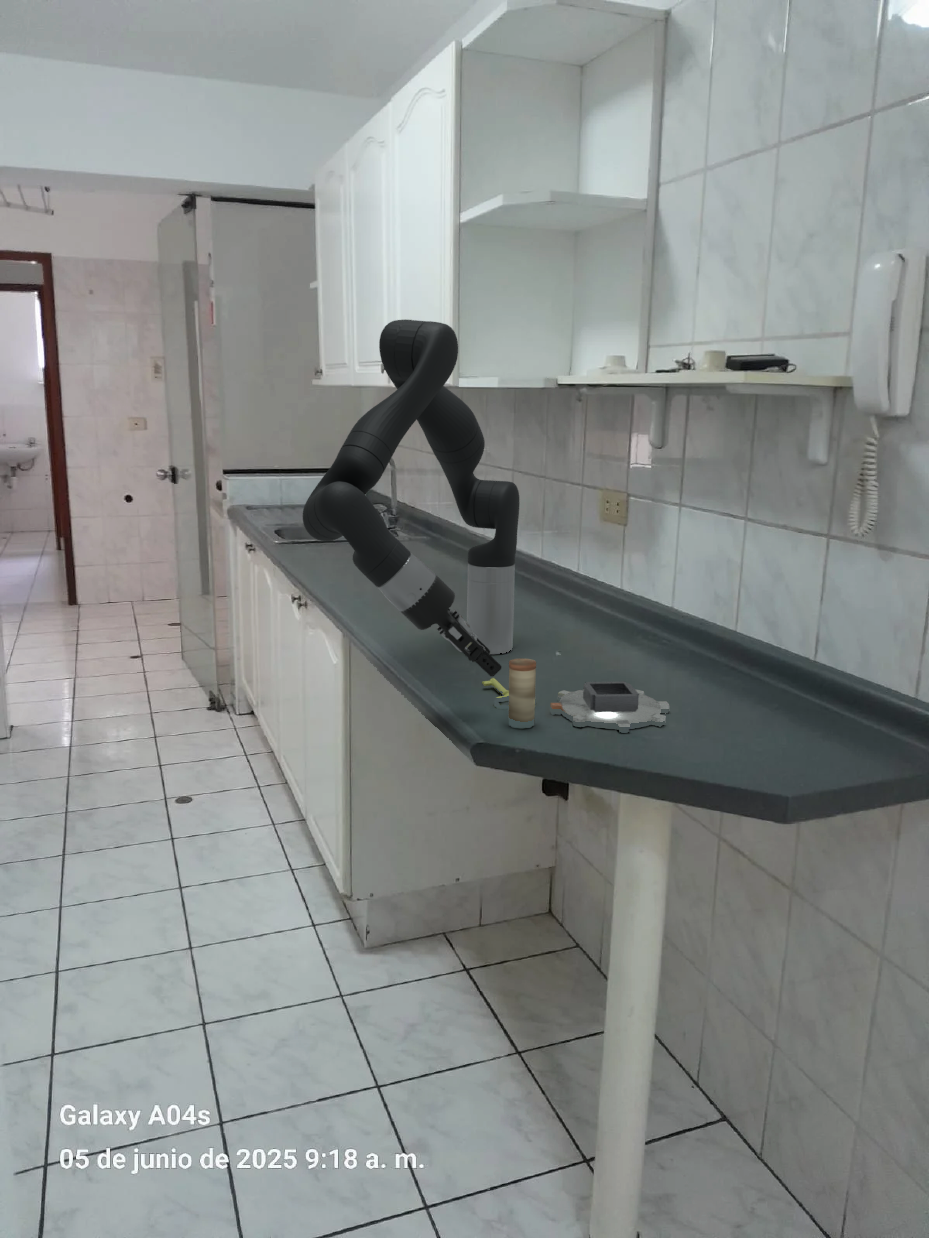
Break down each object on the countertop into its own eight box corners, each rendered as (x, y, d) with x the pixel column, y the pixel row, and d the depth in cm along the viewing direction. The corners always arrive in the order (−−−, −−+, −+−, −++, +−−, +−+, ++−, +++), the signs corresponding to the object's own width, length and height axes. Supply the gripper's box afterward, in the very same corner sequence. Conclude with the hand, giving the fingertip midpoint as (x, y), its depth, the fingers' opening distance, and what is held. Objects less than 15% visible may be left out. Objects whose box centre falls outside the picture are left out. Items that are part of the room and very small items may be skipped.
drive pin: (506, 720, 148) (507, 658, 145) (532, 719, 148) (533, 658, 146) (509, 729, 144) (510, 666, 141) (536, 728, 144) (538, 665, 142)
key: (492, 688, 165) (493, 676, 164) (541, 707, 156) (542, 695, 155) (460, 696, 160) (460, 684, 160) (508, 716, 151) (509, 703, 151)
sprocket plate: (541, 694, 160) (541, 672, 159) (651, 693, 162) (652, 671, 161) (562, 734, 142) (563, 708, 141) (685, 732, 143) (687, 707, 143)
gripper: (441, 582, 131) (519, 659, 136) (427, 564, 145) (499, 634, 149) (402, 620, 131) (482, 696, 136) (393, 598, 145) (465, 668, 150)
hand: (491, 663), depth 143 cm, fingers open, 8 cm apart
